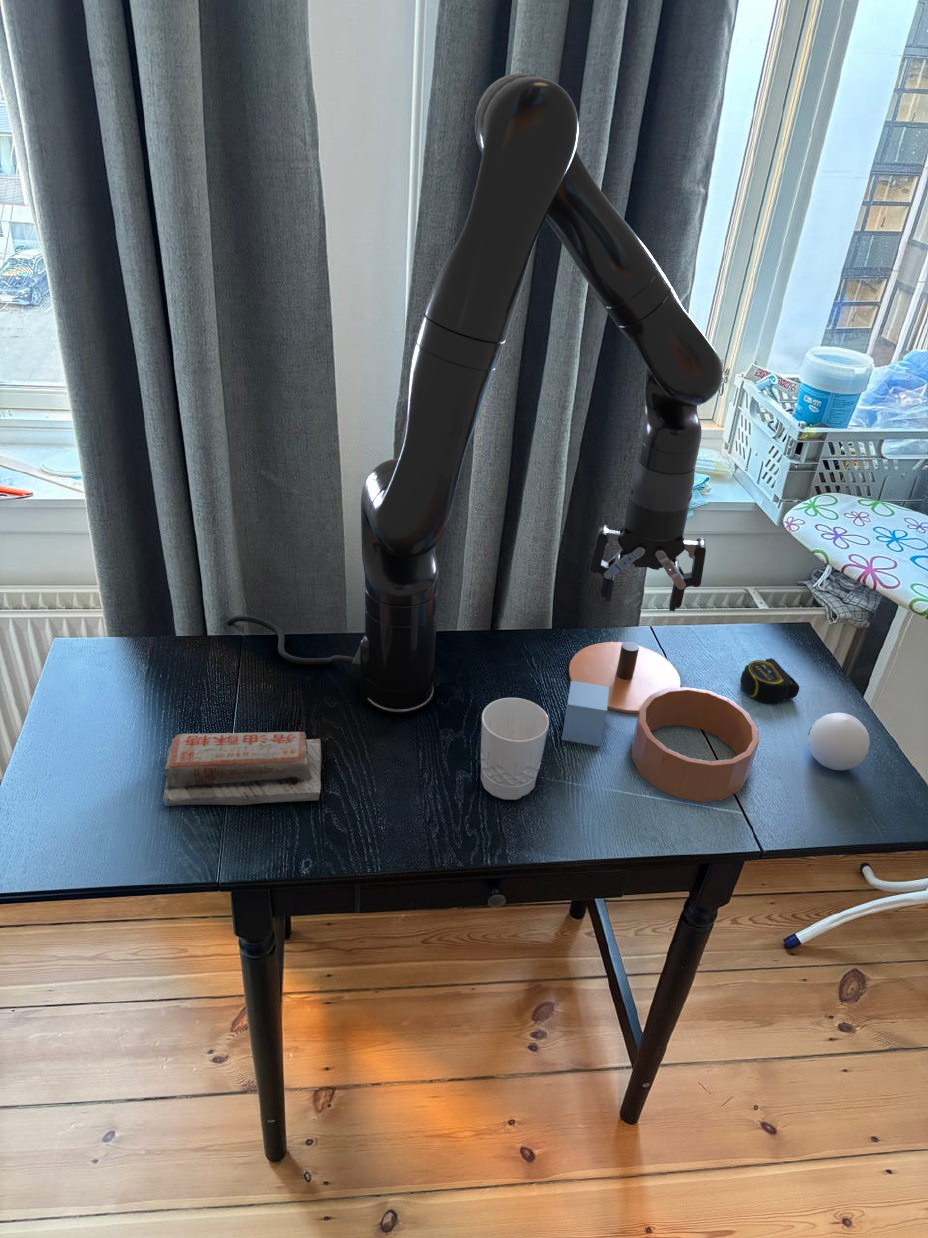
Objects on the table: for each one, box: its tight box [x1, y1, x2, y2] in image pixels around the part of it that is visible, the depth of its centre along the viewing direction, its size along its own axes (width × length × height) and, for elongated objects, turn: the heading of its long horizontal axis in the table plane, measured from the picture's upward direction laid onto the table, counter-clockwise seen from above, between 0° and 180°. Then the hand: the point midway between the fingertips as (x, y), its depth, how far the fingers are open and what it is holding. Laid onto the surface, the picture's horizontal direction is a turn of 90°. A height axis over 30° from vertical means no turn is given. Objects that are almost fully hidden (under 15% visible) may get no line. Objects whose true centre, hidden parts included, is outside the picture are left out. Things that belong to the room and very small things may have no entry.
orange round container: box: [630, 686, 760, 803], centre depth 120 cm, size 15×15×6 cm
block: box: [561, 680, 609, 747], centre depth 124 cm, size 5×5×6 cm
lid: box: [568, 640, 682, 714], centre depth 134 cm, size 16×16×6 cm
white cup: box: [480, 697, 550, 801], centre depth 115 cm, size 8×8×10 cm
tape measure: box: [740, 657, 800, 705], centre depth 134 cm, size 7×7×4 cm
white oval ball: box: [807, 708, 871, 771], centre depth 123 cm, size 10×7×7 cm
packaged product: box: [162, 731, 322, 807], centre depth 114 cm, size 18×5×10 cm
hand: (639, 603), depth 128 cm, fingers open, 8 cm apart
